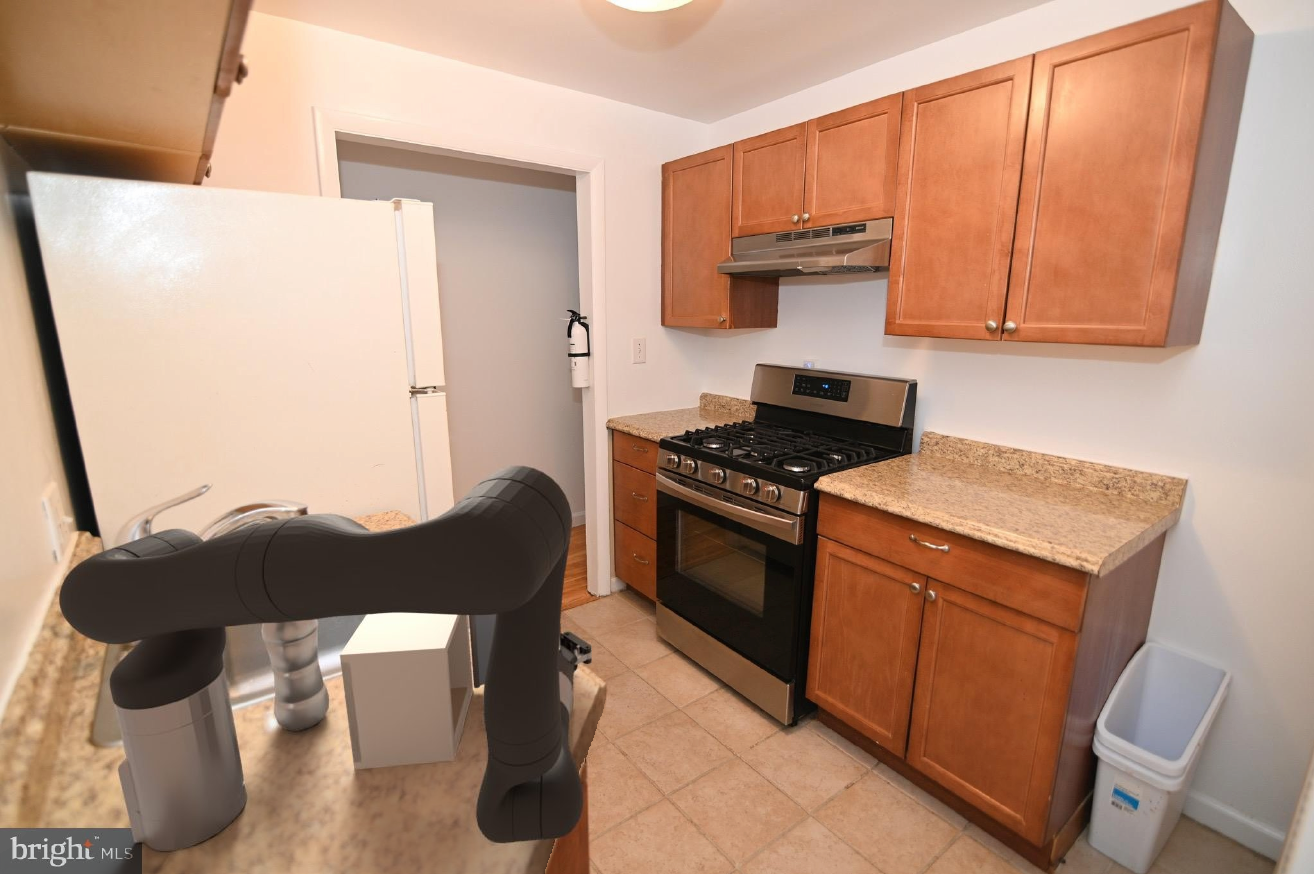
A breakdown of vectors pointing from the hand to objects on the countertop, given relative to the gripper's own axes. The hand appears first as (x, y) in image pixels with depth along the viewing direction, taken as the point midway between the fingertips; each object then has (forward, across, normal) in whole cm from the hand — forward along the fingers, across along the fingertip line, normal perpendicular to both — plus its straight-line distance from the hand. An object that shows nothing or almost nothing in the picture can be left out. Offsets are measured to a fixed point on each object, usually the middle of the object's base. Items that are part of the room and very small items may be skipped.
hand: (551, 624), depth 93 cm
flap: (-2, +5, +7) cm, 9 cm away
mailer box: (-12, +18, +7) cm, 22 cm away
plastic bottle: (-9, +34, +8) cm, 36 cm away
